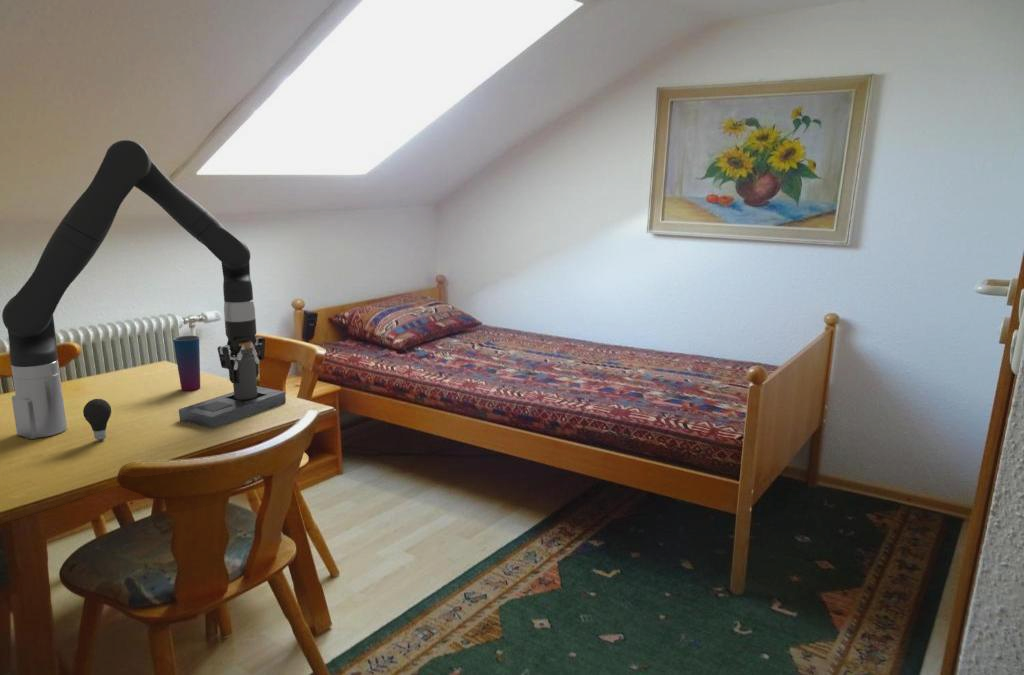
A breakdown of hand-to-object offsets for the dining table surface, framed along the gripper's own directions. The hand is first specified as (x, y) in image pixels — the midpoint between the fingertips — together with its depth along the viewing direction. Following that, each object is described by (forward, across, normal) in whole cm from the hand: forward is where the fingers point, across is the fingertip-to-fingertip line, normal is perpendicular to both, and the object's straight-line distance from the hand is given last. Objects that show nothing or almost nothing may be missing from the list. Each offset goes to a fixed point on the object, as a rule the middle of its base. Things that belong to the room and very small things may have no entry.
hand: (244, 379), depth 189 cm
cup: (+8, +4, +27) cm, 28 cm away
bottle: (+5, 0, 0) cm, 5 cm away
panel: (+8, -4, 0) cm, 9 cm away
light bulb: (+8, -34, +10) cm, 36 cm away
